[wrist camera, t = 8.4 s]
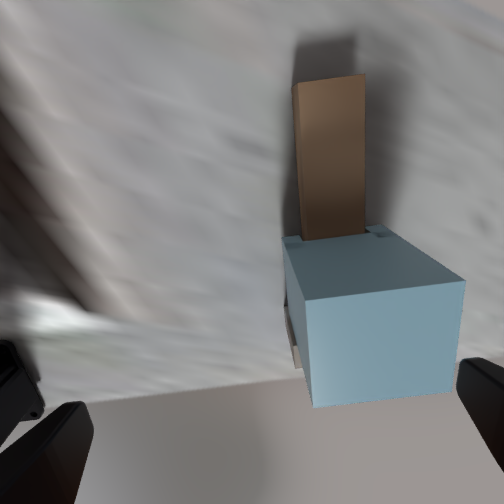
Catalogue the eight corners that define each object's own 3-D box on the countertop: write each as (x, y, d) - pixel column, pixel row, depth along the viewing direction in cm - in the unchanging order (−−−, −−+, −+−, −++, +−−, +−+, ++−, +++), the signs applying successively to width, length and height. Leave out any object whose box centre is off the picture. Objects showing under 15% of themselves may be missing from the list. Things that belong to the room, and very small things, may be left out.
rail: (376, 315, 21) (405, 355, 17) (286, 326, 21) (295, 368, 17) (380, 76, 16) (423, 59, 12) (261, 92, 16) (267, 80, 12)
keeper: (379, 302, 19) (451, 391, 13) (288, 314, 20) (313, 407, 13) (381, 224, 18) (465, 280, 11) (281, 237, 18) (305, 300, 11)
